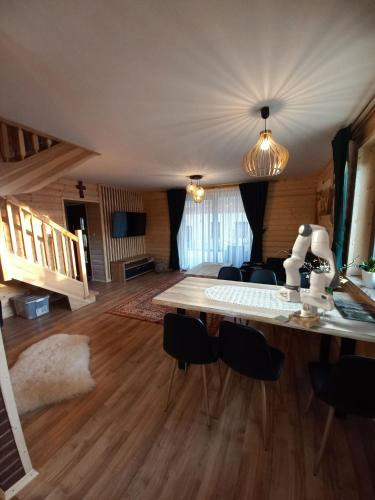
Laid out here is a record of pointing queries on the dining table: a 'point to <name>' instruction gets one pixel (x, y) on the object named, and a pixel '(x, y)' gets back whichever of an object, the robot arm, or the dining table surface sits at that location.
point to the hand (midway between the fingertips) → (315, 312)
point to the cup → (312, 309)
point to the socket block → (304, 320)
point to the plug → (304, 313)
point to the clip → (299, 311)
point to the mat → (282, 318)
